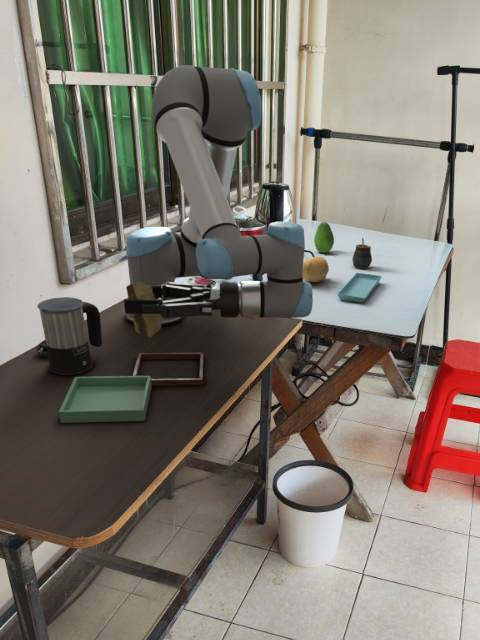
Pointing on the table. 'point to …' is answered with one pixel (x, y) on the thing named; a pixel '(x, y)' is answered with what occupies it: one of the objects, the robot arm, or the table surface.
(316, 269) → the potato
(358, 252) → the mate gourd
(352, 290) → the rectangular tray
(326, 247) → the avocado
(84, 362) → the milk frother
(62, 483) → the table surface
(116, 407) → the green tray
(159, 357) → the wooden frame
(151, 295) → the rock
